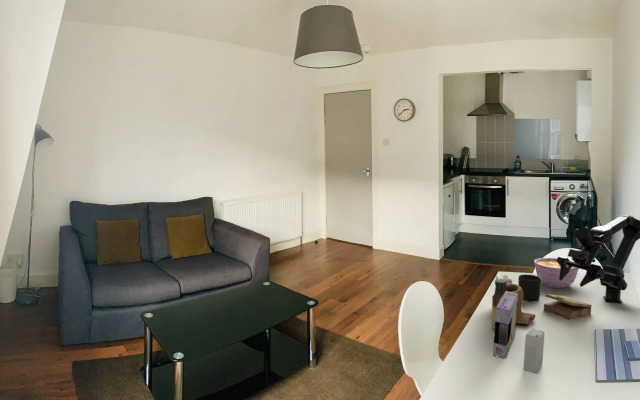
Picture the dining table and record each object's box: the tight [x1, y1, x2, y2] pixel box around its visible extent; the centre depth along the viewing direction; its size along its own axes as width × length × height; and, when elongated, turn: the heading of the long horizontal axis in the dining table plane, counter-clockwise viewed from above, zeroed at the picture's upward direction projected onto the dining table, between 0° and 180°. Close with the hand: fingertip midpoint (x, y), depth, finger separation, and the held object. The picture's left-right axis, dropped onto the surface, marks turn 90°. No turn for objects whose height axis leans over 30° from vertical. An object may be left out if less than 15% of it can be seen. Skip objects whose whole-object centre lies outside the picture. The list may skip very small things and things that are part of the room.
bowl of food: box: [533, 257, 579, 289], centre depth 221 cm, size 20×20×12 cm
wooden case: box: [543, 300, 592, 321], centre depth 187 cm, size 13×12×3 cm
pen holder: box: [517, 274, 542, 303], centre depth 204 cm, size 9×9×10 cm
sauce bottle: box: [491, 279, 507, 332], centre depth 169 cm, size 6×6×20 cm
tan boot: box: [506, 283, 536, 325], centre depth 178 cm, size 15×12×15 cm
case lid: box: [544, 293, 592, 308], centre depth 187 cm, size 13×12×2 cm
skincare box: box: [523, 328, 545, 374], centre depth 141 cm, size 6×4×12 cm
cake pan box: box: [492, 291, 518, 359], centre depth 155 cm, size 19×5×18 cm, turn 148°
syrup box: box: [495, 274, 513, 284], centre depth 191 cm, size 6×6×14 cm
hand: (569, 283), depth 186 cm, fingers open, 9 cm apart
